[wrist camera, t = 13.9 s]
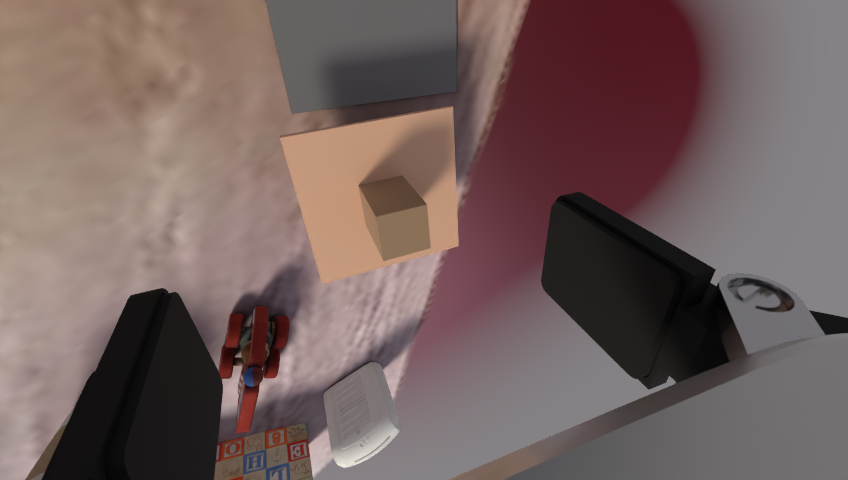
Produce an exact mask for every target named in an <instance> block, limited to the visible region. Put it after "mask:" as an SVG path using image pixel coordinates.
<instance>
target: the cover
mask: <svg viewBox="0 0 848 480" xmlns="http://www.w3.org/2000/svg"><path fill="white" fill-rule="evenodd" d="M280 139H281V143H282V146H283V150H284V153H285V157H286V160H287V164H288V167H289V170H290V174H291V177H292V181H293V184H294V188H295V191H296V195H297V198H298V201H299V205H300V208H301V212H302V215H303V219H304V222H305V226H306V229H307V233H308V236H309V239H310V243H311V246H312V250H313V253H314V257H315V260H316V264H317V267H318V270H319V274H320V277H321V281H322V284H324V283H328V282H332V281H335V280H339V279H342V278H346V277H349V276H353V275H357V274H360V273H364V272H367V271H371V270H375V269H378V268H382V267H385V266H389V265H392V264H396V263H400V262H403V261H407V260H410V259H414V258H417V257H421V256H425V255H428V254H432V253H435V252H439V251H443V250H446V249H450V248H453V247H457V246H458V220H457V194H456V168H455V142H454V116H453V106H451V105H450V106H445V107H439V108H433V109H428V110H422V111H417V112H411V113H405V114H400V115H394V116H389V117H383V118H377V119H372V120H366V121H361V122H355V123H349V124H344V125H338V126H333V127H327V128H322V129H316V130H310V131H305V132H299V133H294V134H288V135H282V136H280Z"/></svg>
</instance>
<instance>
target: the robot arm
mask: <svg viewBox="0 0 848 480" xmlns="http://www.w3.org/2000/svg"><path fill="white" fill-rule="evenodd" d="M714 272H715V269H713V268H712V267H710V266H708V265H707V264H705V263H703V262H702V261H700V260H698V259H696V258H695V257H693V256H691V255H689V254H688V253H686V252H684V251H682V250H681V249H679V248H677V247H676V246H674V245H672V244H670V243H669V242H667V241H665V240H663V239H661V238H660V237H658V236H656V235H655V234H653V233H651V232H649V231H648V230H646V229H644V228H642V227H641V226H639V225H637V224H635V223H634V222H632V221H630V220H628V219H627V218H625V217H623V216H622V215H620V214H618V213H616V212H615V211H613V210H611V209H609V208H607V207H606V206H604V205H602V204H601V203H599V202H597V201H595V200H593V199H592V198H590V197H588V196H587V195H585V194H583V193H581V192H576V193H571V194H567V195H563V196H560V197H558V198H557V200H556V202H555V203H554V204H553V205H552V207H551V213H550V221H549V228H548V235H547V242H546V249H545V257H544V264H543V271H542V278H541V283H542V286H543V289H544V290H545V292H546V293H547V294H548V295H549V296H550V297H551V298H552V299H554V301H555V302H556V303H557V304H558V305H559V306H560V307H561V308H562V309H563V310H565V312H566V313H567V314H568V315H569V316H570V317H571V318H572V319H573V320H574V321H575V322H576V323H577V324H578V325H579V326H580V327H581V328H582V329H583V330H585V332H587V334H588V335H589V336H590V337H591V338H592V339H593V340H594V341H595V342H596V343H597V344H598V345H599V346H600V347H601V348H602V349H604V351H606V353H607V354H608V355H609V356H610V357H611V358H612V359H613V360H614V361H615V362H616V363H618V365H619V366H621V368H623V369H624V370H625V371H626V372H627V373H628V374H629V375H630V376H631V377H633V378H635V379H638V380H639V381H641V383H642V384H643V385H645V386H646V387H647V388H648V389H651V388H654V387H656V386H659V385H661V384H663V383H666V381H667V379H668V377H669V376H670V377H672V378H673V379H674V380H675V382H676V383H675V384H674V385H672V386H669V387H667V388H665V389H662V390H660V391H658V392H655V393H652V394H650V395H648V396H645V397H643V398H641V399H638V400H636V401H633V402H631V403H629V404H626V405H624V406H622V407H619V408H617V409H614V410H612V411H609V412H607V413H605V414H602V415H600V416H598V417H595V418H593V419H591V420H588V421H586V422H583V423H581V424H579V425H576V426H574V427H571V428H569V429H567V430H564V431H562V432H560V433H557V434H555V435H553V436H550V437H548V438H545V439H543V440H541V441H539V442H536V443H534V444H531V445H529V446H527V447H524V448H522V449H520V450H517V451H515V452H513V453H510V454H508V455H505V456H503V457H501V458H498V459H496V460H494V461H492V462H489V463H487V464H484V465H482V466H480V467H477V468H475V469H473V470H470V471H468V472H465V473H463V474H461V475H459V476H456V477H454V478H451V479H450V480H848V318H845V317H840V316H835V315H830V314H824V313H820V312H814V311H809V310H808V308H807V307H806V305H805V304H804V302H803V301H802V300H801V299H800V298H799V297H798V296H797V294H796V293H794V292H793V291H791V290H790V289H788V288H787V287H785V286H783V285H781V284H779V283H777V282H775V281H773V280H770V279H767V278H764V277H761V276H756V275H751V274H741V273H736V274H728V275H726V276H724V277H722V278H721V280H720V281H719V283H718V285H717V287H716V286H715V285H713V284H711V283H710V281H711V279H712V277H713V274H714ZM222 394H223V384H222V379H221V376H220V373H219V372H218V370H217V368H216V366H215V364H214V362H213V360H212V358H211V356H210V354H209V352H208V350H207V348H206V346H205V344H204V342H203V340H202V338H201V336H200V334H199V332H198V331H197V329H196V327H195V325H194V323H193V321H192V319H191V317H190V315H189V313H188V311H187V309H186V307H185V305H184V303H183V301H182V299H181V297H180V296H179V294H178V293H176V292H173V293H168V291H167V290H166V289H164V288H160V289H156V290H152V291H147V292H143V293H139V294H134V295H131V296H130V297H129V299H128V300H127V303H126V305H125V307H124V309H123V311H122V314H121V316H120V318H119V320H118V322H117V325H116V327H115V329H114V331H113V334H112V336H111V338H110V340H109V342H108V345H107V347H106V349H105V351H104V353H103V356H102V358H101V360H100V362H99V364H98V367H97V369H96V371H95V372H93V373H92V374H91V376H90V377H89V379H88V380H87V382H86V384H85V387H84V389H83V391H82V393H81V395H80V397H79V400H78V402H77V404H76V406H75V408H74V410H73V412H72V415H71V417H70V419H69V421H68V423H67V425H66V428H65V430H64V432H63V434H62V436H61V438H60V440H59V443H58V445H57V447H56V449H55V451H54V453H53V456H52V458H51V460H50V462H49V464H48V466H47V468H46V471H45V473H44V475H43V477H42V479H41V480H214V476H215V465H216V455H217V445H218V435H219V424H220V414H221V404H222Z"/></svg>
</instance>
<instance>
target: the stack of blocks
mask: <svg viewBox="0 0 848 480" xmlns="http://www.w3.org/2000/svg"><path fill="white" fill-rule="evenodd" d="M214 480H313V477H312V468H311V461H310V453H309V446H308V440H307V429H306V423H302V424H297V425H293V426H289V427H283V428H279V429H275V430H270V431H266V432H262V433H257V434H253V435H249V436H245V437H243V438H239V439H235V440H231V441H226V442H223V443H219V444H218V445H217V455H216V465H215V476H214Z"/></svg>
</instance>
